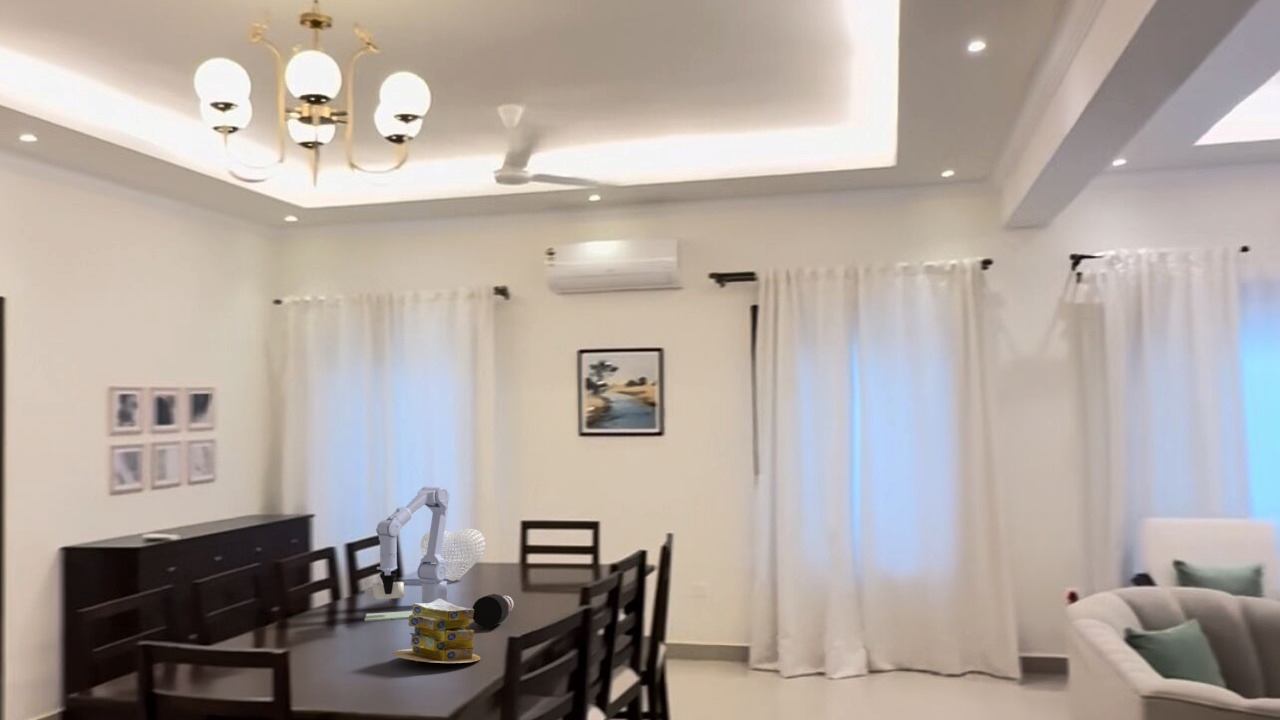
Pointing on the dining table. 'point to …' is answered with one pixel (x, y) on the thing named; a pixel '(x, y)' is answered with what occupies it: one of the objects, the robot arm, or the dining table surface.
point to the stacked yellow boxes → (440, 634)
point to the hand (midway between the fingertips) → (388, 592)
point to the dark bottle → (491, 610)
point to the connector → (379, 592)
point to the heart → (458, 550)
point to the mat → (388, 616)
